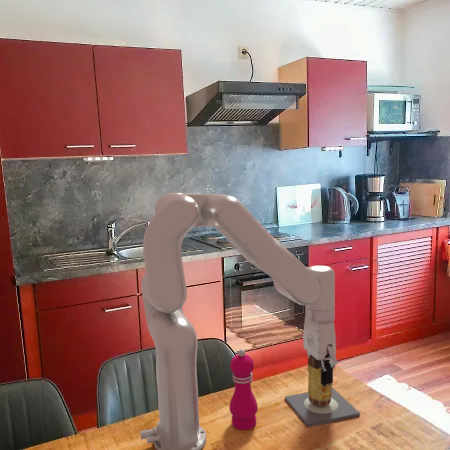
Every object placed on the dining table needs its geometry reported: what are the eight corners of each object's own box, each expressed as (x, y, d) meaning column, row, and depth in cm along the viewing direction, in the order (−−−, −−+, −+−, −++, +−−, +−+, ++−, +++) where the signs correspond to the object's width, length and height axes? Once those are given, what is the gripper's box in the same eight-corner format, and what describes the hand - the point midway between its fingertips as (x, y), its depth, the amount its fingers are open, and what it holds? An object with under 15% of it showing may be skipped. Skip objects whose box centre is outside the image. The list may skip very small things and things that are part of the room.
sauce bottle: (325, 410, 117) (326, 338, 114) (303, 402, 121) (304, 332, 117) (335, 399, 122) (337, 329, 119) (314, 392, 126) (315, 324, 123)
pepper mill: (256, 432, 111) (253, 356, 108) (227, 430, 113) (224, 355, 110) (259, 416, 118) (257, 344, 115) (232, 414, 120) (230, 343, 117)
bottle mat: (307, 427, 113) (307, 423, 113) (284, 399, 126) (284, 396, 126) (359, 415, 117) (359, 412, 117) (332, 390, 130) (332, 387, 130)
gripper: (292, 305, 125) (293, 365, 127) (323, 326, 108) (323, 395, 111) (317, 301, 127) (317, 361, 130) (350, 322, 111) (350, 390, 113)
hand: (320, 376), depth 120 cm, fingers open, 6 cm apart
